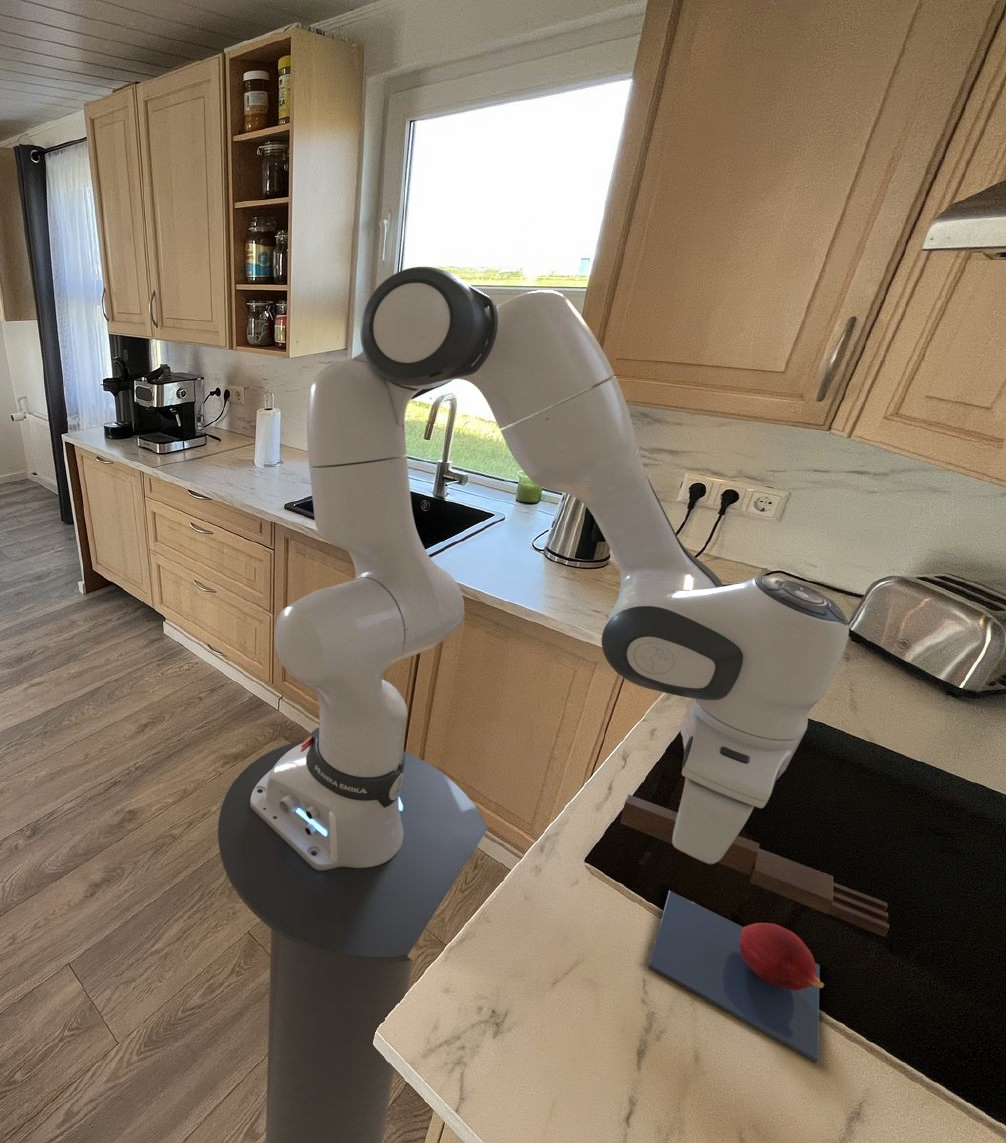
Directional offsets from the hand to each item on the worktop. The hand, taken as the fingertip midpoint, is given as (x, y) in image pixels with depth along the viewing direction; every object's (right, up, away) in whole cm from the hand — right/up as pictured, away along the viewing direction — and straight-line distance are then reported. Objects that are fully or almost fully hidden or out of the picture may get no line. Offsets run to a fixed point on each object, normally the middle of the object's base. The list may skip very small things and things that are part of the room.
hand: (691, 832), depth 68 cm
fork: (+4, -3, -2) cm, 5 cm away
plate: (+4, -14, -1) cm, 15 cm away
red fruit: (+6, -11, +1) cm, 13 cm away
